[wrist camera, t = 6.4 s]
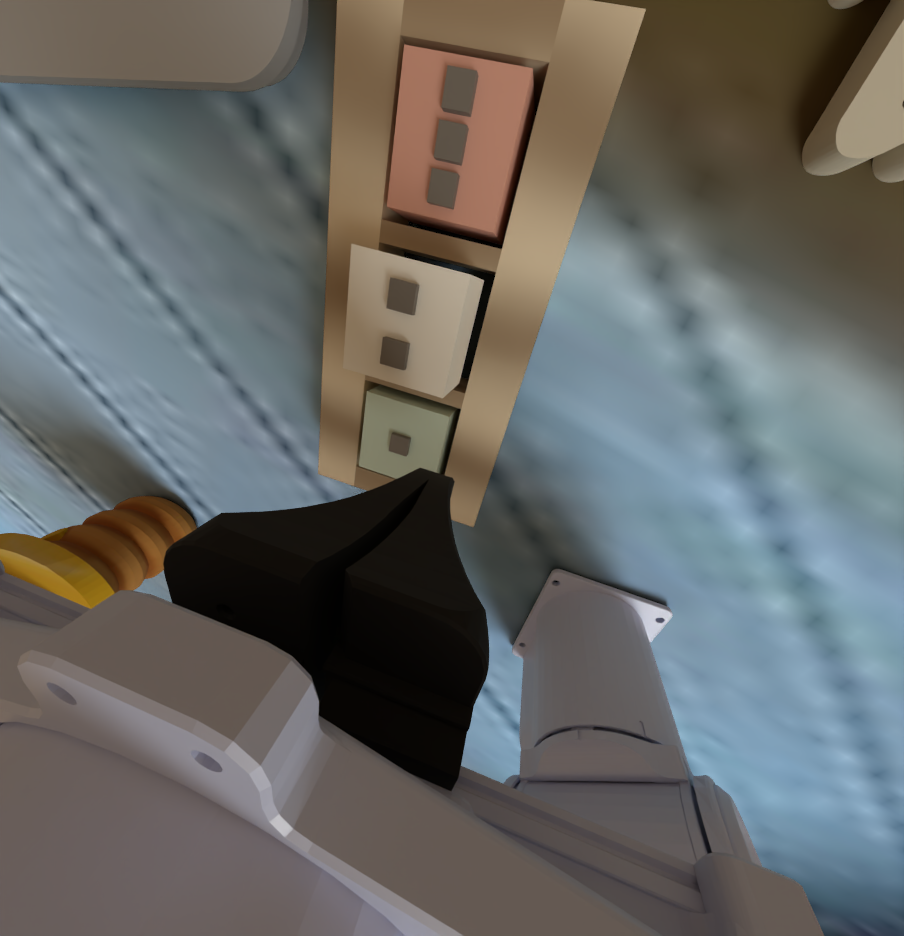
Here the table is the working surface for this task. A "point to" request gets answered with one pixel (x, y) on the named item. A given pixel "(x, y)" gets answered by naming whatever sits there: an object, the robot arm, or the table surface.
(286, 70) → the tablet
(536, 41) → the button board
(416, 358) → the cream studded block
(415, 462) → the button
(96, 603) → the toy
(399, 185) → the button
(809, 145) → the decorative sign
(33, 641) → the robot arm
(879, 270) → the table surface
